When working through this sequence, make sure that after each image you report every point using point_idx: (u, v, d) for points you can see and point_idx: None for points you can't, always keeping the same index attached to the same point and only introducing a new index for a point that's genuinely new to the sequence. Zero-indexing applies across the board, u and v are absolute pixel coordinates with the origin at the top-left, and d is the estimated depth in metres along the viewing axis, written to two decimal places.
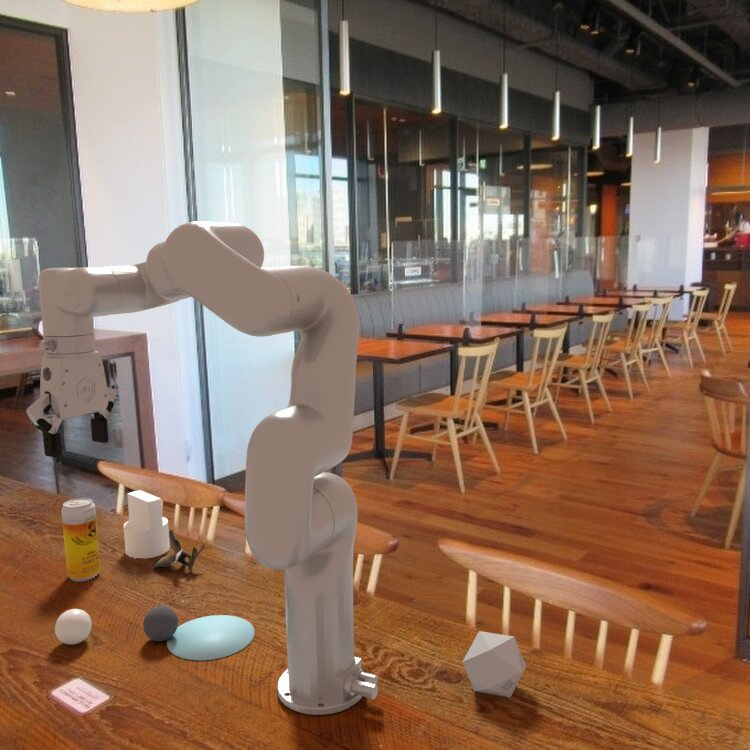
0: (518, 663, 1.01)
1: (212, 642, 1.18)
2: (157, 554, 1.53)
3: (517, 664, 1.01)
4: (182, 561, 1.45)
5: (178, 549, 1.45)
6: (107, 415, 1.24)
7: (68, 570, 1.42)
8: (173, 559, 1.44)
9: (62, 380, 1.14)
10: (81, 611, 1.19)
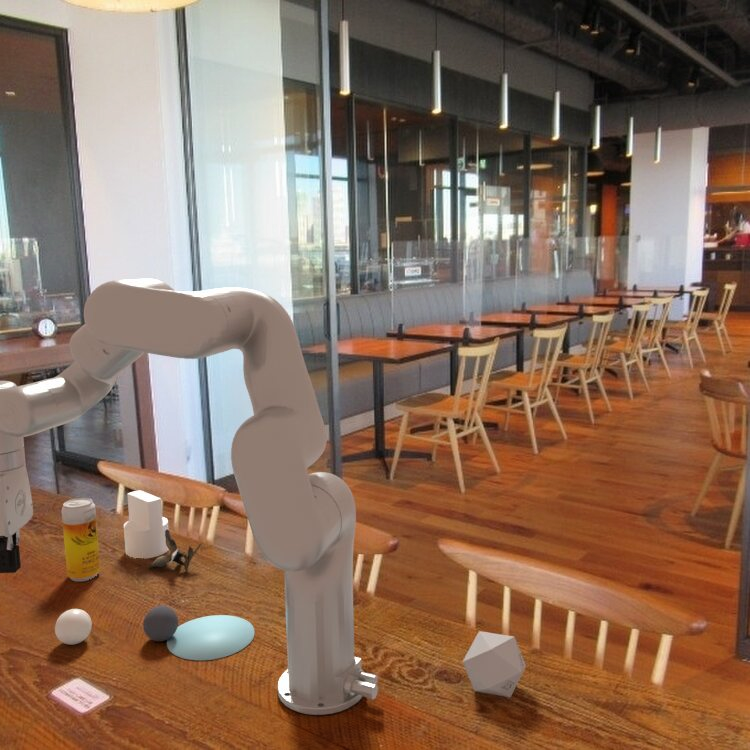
0: (518, 663, 1.01)
1: (212, 642, 1.18)
2: (157, 554, 1.53)
3: (517, 664, 1.01)
4: (178, 561, 1.45)
5: (174, 549, 1.45)
6: (17, 541, 1.19)
7: (68, 570, 1.42)
8: (169, 559, 1.45)
9: (5, 498, 1.12)
10: (81, 611, 1.19)
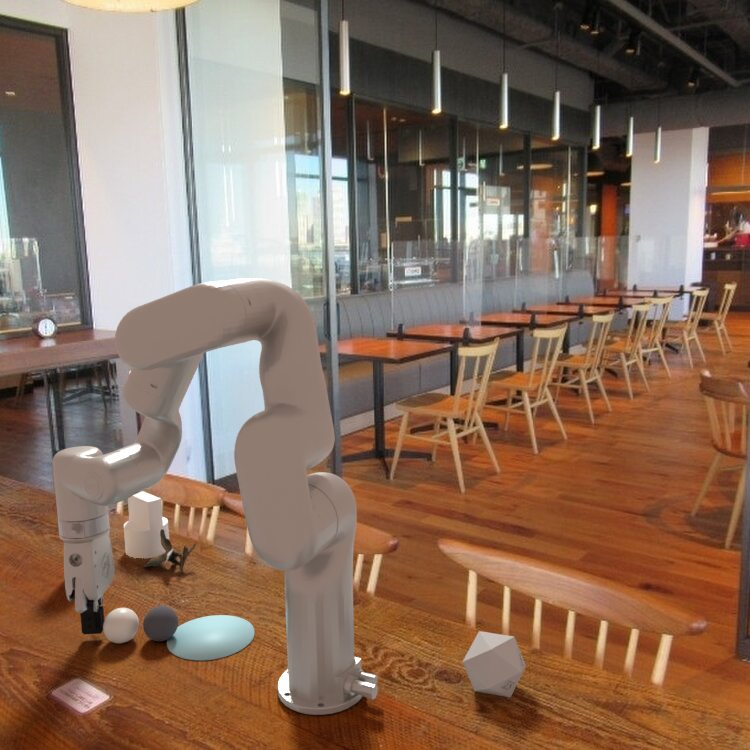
0: (518, 663, 1.01)
1: (212, 642, 1.18)
2: (157, 554, 1.53)
3: (517, 664, 1.01)
4: (173, 560, 1.45)
5: (169, 548, 1.46)
6: (101, 601, 1.21)
7: None
8: (164, 558, 1.45)
9: (94, 563, 1.14)
10: None
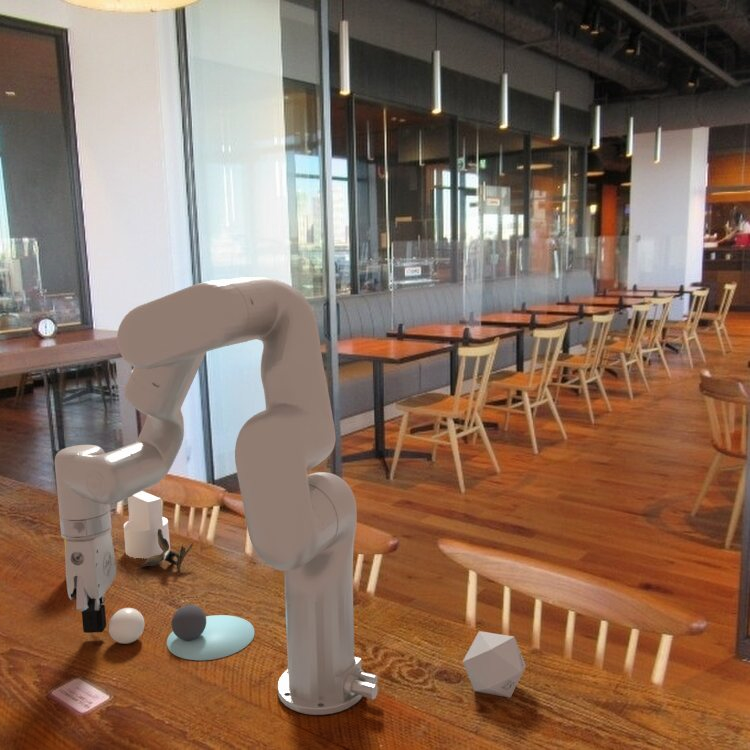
0: (518, 663, 1.01)
1: (212, 642, 1.18)
2: (157, 554, 1.53)
3: (517, 664, 1.01)
4: (170, 560, 1.46)
5: (166, 548, 1.46)
6: (103, 600, 1.21)
7: None
8: (161, 558, 1.45)
9: (95, 561, 1.14)
10: None
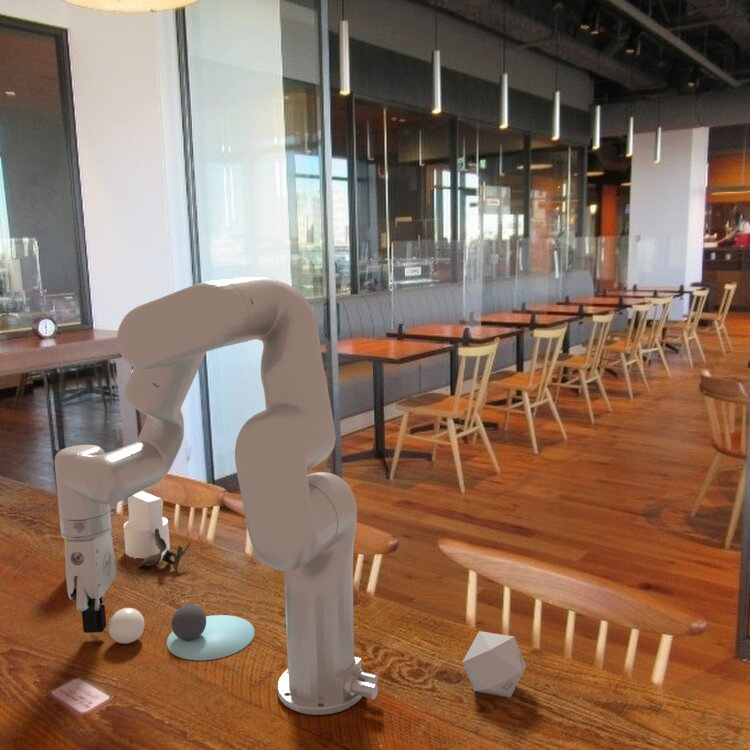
0: (518, 663, 1.01)
1: (212, 642, 1.18)
2: None
3: (517, 664, 1.01)
4: (167, 560, 1.46)
5: (163, 548, 1.46)
6: (103, 600, 1.21)
7: None
8: (158, 558, 1.45)
9: (95, 561, 1.14)
10: None
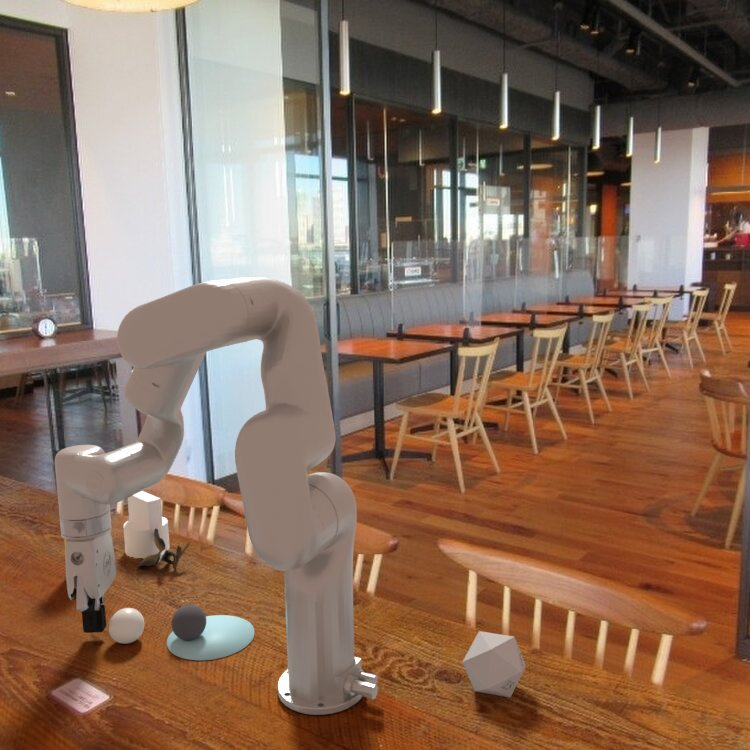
0: (518, 663, 1.01)
1: (212, 642, 1.18)
2: None
3: (517, 664, 1.01)
4: (166, 560, 1.46)
5: (162, 548, 1.46)
6: (103, 600, 1.21)
7: None
8: (157, 558, 1.45)
9: (95, 561, 1.14)
10: None
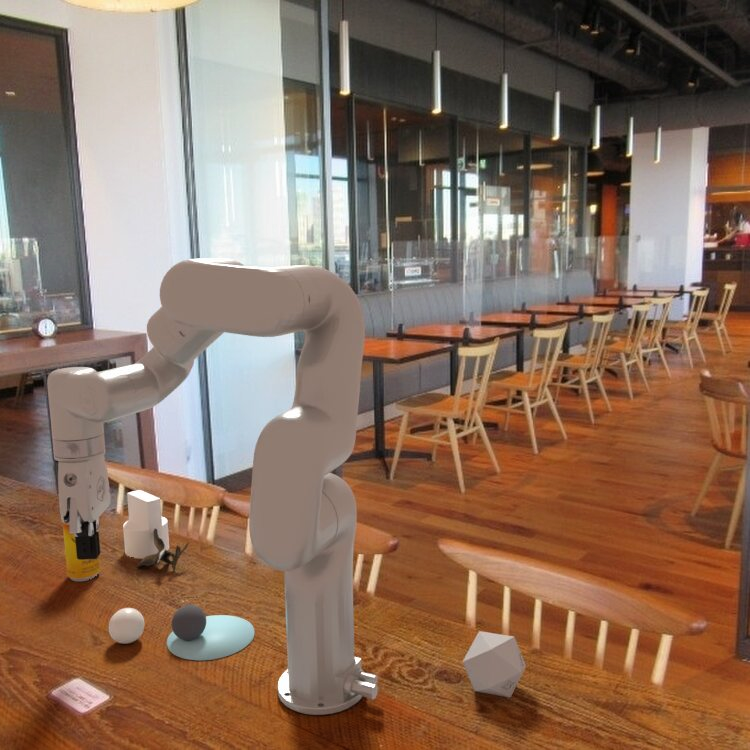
0: (518, 663, 1.01)
1: (212, 642, 1.18)
2: None
3: (517, 664, 1.01)
4: (165, 560, 1.46)
5: (162, 548, 1.46)
6: (97, 527, 1.19)
7: (68, 570, 1.42)
8: (156, 558, 1.45)
9: (89, 483, 1.12)
10: None
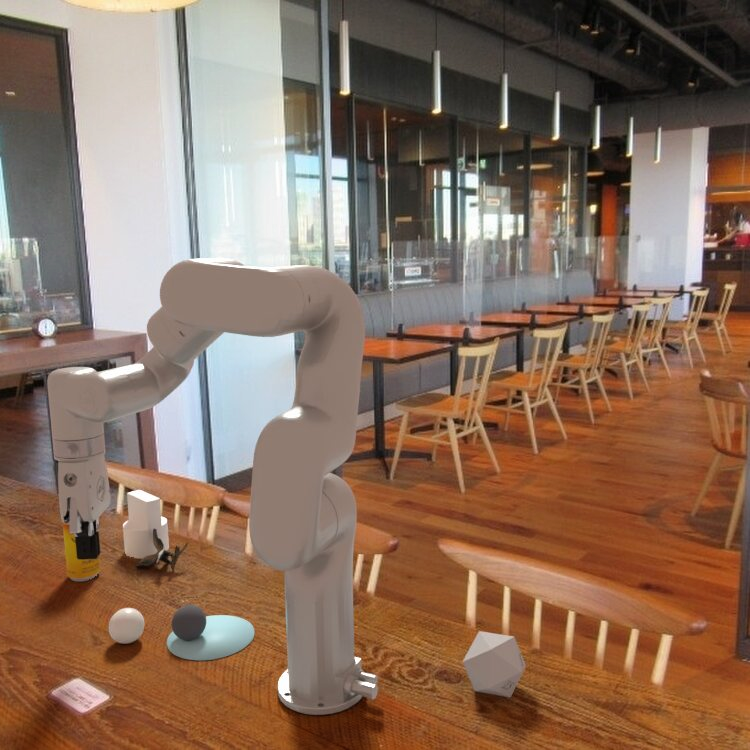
0: (518, 663, 1.01)
1: (212, 642, 1.18)
2: None
3: (517, 664, 1.01)
4: (165, 560, 1.46)
5: (161, 548, 1.46)
6: (97, 527, 1.19)
7: (68, 570, 1.42)
8: (156, 558, 1.45)
9: (89, 483, 1.12)
10: None
